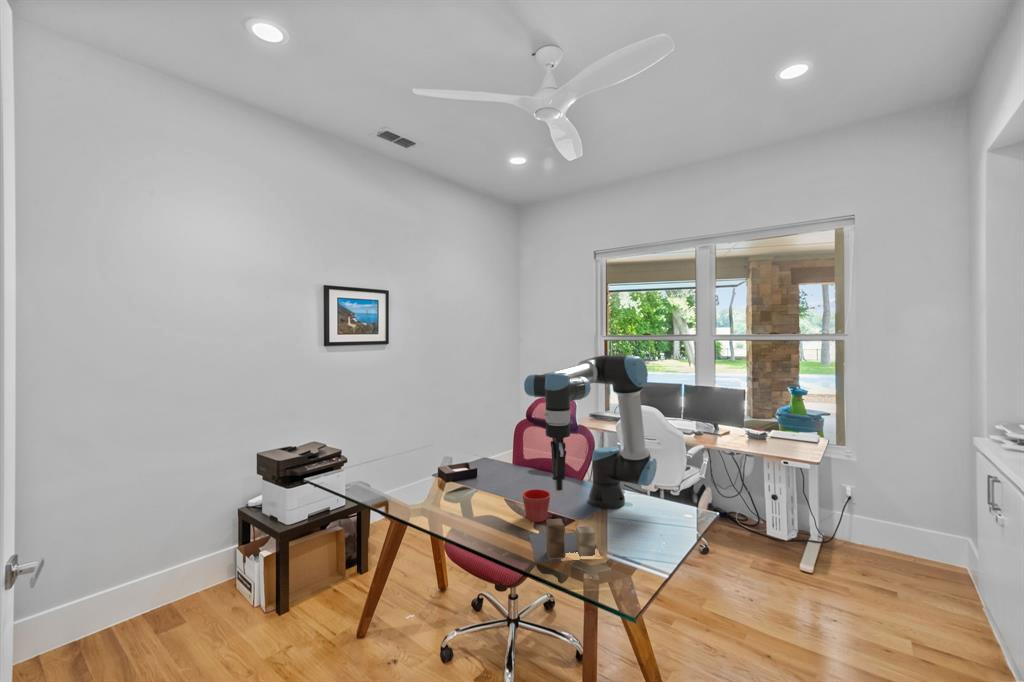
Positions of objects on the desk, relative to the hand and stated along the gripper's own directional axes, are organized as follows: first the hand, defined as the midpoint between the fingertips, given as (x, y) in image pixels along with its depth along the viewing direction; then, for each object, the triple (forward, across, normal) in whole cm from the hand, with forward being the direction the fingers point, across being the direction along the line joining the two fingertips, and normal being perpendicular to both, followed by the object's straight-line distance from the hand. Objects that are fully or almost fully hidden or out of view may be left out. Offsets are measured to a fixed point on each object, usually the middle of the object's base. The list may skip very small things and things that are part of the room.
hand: (558, 499), depth 141 cm
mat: (+22, -14, +4) cm, 26 cm away
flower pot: (+22, -39, -2) cm, 45 cm away
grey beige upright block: (+21, -8, +10) cm, 25 cm away
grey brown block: (+22, -8, 0) cm, 23 cm away
